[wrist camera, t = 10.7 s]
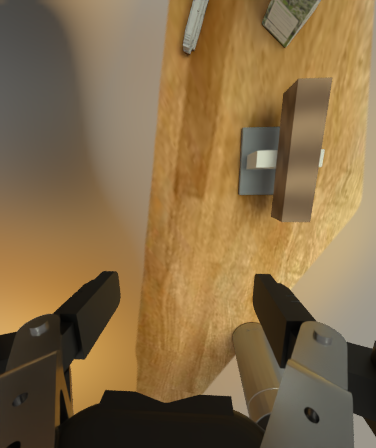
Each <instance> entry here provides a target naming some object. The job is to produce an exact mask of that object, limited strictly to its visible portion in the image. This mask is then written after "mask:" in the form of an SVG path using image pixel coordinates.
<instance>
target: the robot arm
mask: <svg viewBox="0 0 376 448" xmlns="http://www.w3.org/2000/svg"><path fill="white" fill-rule="evenodd" d="M119 302H120V286H119V279H118V273H117V272H116V271H115V272H114V271H103V272H102V273H101V274H100V275H99V276H98V277H96V278H95V279H94V280H91V281H90V282H88V283H86V284H84V285H83V286H82V287H81V288H80V289H79V290H78V292H76V293H74V294H73V295H72V297H70V298H69V299H68V300H67V301H66V302H65V303H64V304H63V305H62V306H61V307H59V309H57V310H56V311H55V312H54V313H53V314H46V315H42V316H39V317H36V318H34V319H32V320H30V321H29V322H27V323H26V324H24V325H23V326H22V327H21V328H20V329H19V330H18V331H17V332H13V333H8V334H3V335H0V448H354V432H353V413H354V414H357V415H359V416H362V417H363V418H364V419H365V421H366V422H367V424H368V425H369V427H370V428H371V430H372V431H373V433H374V434H375V436H376V341H375V343H374V347H373V349H371V348H368V347H364V346H360V345H356V344H352V343H349V342H346V340H345V339H344V337H343V336H342V335H341V334H340V333H339V332H337V331H336V330H335V329H333V328H331V327H330V326H328V325H325V324H323V323H320V322H317V321H316V320H315V319H314V318H313V317H312V315H311V314H310V313H309V312H308V311H307V309H306V308H305V307H304V306H303V305H302V303H300V301H299V300H298V299H297V298H296V297H295V296H294V294H293V293H292V292H291V290H290V289H289V288H287V287H286V286H284V285H283V284H281V283H277V282H276V281H275V280H274V278H273V277H272V276H271V275H270V274H255V278H254V289H253V306H254V310H255V312H256V315H257V317H258V319H259V321H260V324H258V323H246V324H243V325H241V326H240V327H238V328H237V329H236V330H235V332H234V334H233V344H234V349H235V354H236V359H237V363H238V368H239V372H240V377H241V381H242V386H243V390H244V395H245V400H246V405H247V409H248V413H249V418H248V417H247V416H245V415H243V414H242V413H240V412H237V411H235V410H233V406H232V400H231V396H212V395H197V396H193V397H189V398H185V399H181V400H177V401H173V402H170V403H163V402H160V401H158V400H155V399H153V398H150V397H148V396H145V395H143V394H140V393H138V392H132V391H112V390H105V392H104V394H103V396H102V399H101V401H100V403H99V404H95V405H93V406H90V407H88V408H86V409H84V410H82V411H80V412H78V413H77V414H75V415H73V399H72V382H71V369H70V364H71V363H72V361H73V360H74V359H85V358H86V357H87V355H88V354H89V352H90V350H91V349H92V347H93V346H94V344H95V342H96V341H97V339H98V337H99V336H100V334H101V333H102V331H103V330H104V328H105V326H106V325H107V323H108V322H109V320H110V318H111V317H112V315H113V314H114V312H115V310H116V309H117V307H118V305H119Z"/></svg>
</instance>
